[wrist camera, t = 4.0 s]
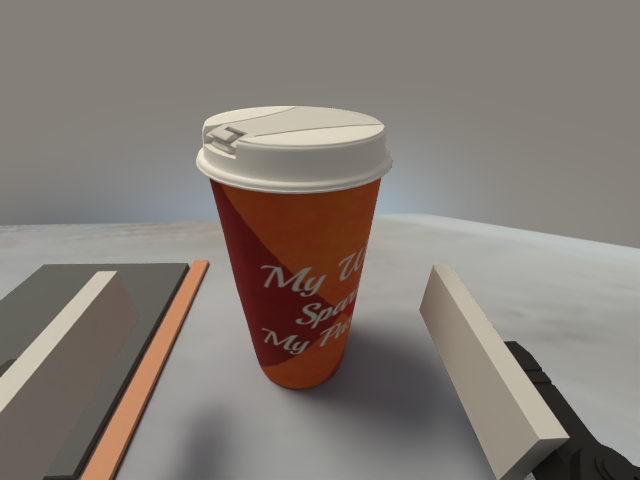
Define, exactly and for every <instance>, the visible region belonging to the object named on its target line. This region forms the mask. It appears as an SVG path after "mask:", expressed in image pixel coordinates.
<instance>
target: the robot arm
mask: <svg viewBox="0 0 640 480" xmlns="http://www.w3.org/2000/svg"><path fill="white" fill-rule="evenodd" d="M420 313H421V315H422V317H423V319H424V321H425V324H426V326H427V328H428V330H429V332H430V335H431V337H432V339H433V341H434V343H435V346H436V348H437V350H438V352H439V354H440V357H441V359H442V361H443V363H444V365H445V367H446V370H447V372H448V374H449V376H450V378H451V381H452V383H453V385H454V387H455V389H456V392H457V394H458V396H459V398H460V400H461V403H462V405H463V407H464V409H465V411H466V414H467V416H468V418H469V420H470V422H471V424H472V427H473V429H474V431H475V433H476V435H477V438H478V440H479V442H480V444H481V446H482V449H483V451H484V453H485V455H486V457H487V460H488V462H489V464H490V466H491V468H492V471H493V473H494V475H495V477H496V479H497V480H523V479H524V478H525V477H526V476H527V475H528V474H530V473H531V472H532V474H533V475H534V477H535V479H536V480H640V467H637V466H634V465H632V464H631V463H630V462H629V461H628V460H627V459H626V458H625V457H624V456H622V455H621V454H619V453H618V452H616V451H615V450H613V449H612V448H609V447H607V446H604V445H602V444H600V443H599V442H598V441H597V440H596V439H595V438H594V436H593V435H592V434H591V433H590V432H589V430H588V429H587V428H586V426H585V425H584V424H583V422H582V421H581V420H580V418H579V417H578V416H577V415H576V413H575V412H574V411H573V409H572V408H571V407H570V405H569V404H568V403H567V401H566V400H565V399H564V397H563V396H562V395H561V393H560V392H559V391H558V389H557V388H556V387H555V385H552V383H551V382H552V381H551V380H550V379H549V377H548V376H547V375H546V374H545V372H543V371H542V368H541V367H540V366H539V364H538V363H537V362H536V360H535V359H534V358H533V356H532V355H531V354H530V353H529V352H528V351H527V350H525V349H524V348H523V347H522V346H520V345H519V344H518V343H517V342H516V341H508V342H503V341H502V339H501V338H500V336H499V335H498V333H497V332H496V331H495V329H494V328H493V326H492V325H491V323H490V322H489V320H488V319H487V318H486V316H485V315H484V313H483V312H482V310H481V309H480V307H479V306H478V305H477V303H476V302H475V300H474V299H473V297H472V296H471V295H470V293H469V292H468V290H467V289H466V287H465V286H464V284H463V283H462V282H461V280H460V279H459V277H458V276H457V274H456V273H455V271H454V270H453V269H452V267H451V266H450V265H441V266H433V267H432V271H431V274H430V277H429V280H428V284H427V287H426V290H425V293H424V297H423V300H422V303H421V306H420ZM138 319H139V315H138V313H137V311H136V309H135V307H134V305H133V303H132V301H131V299H130V297H129V294H128V292H127V290H126V288H125V286H124V284H123V282H122V280H121V278H120V276H119V273H118V271H98V272H97V273H96V274H95V275H94V276H93V277H92V278H91V279H90V280H89V281H88V283H87V284H86V285H85V286H84V287H83V288H82V289H81V290H80V291H79V292H78V293H77V295H76V296H75V297H74V298H73V299H72V300H71V301H70V302H69V303H68V304H67V306H66V307H65V308H64V309H63V310H62V311H61V312H60V313H59V314H58V315H57V316H56V318H55V319H54V320H53V321H52V322H51V323H50V324H49V325H48V326H47V327H46V328H45V330H44V331H43V332H42V333H41V334H40V335H39V336H38V337H37V338H36V339H35V340H34V342H33V343H32V344H31V345H30V346H29V347H28V348H27V349H26V350H25V351H24V352H23V354H22V355H21V356H20V357H19V358H18V359H9V360H8V361H7V362H5V363H4V364H2V365H1V366H0V480H42V479H43V477H44V476H45V474H46V472H47V471H48V469H49V467H50V466H51V464H52V462H53V461H54V459H55V457H56V456H57V454H58V452H59V451H60V449H61V447H62V446H63V444H64V442H65V441H66V439H67V437H68V436H69V434H70V432H71V431H72V429H73V427H74V426H75V424H76V422H77V421H78V419H79V417H80V416H81V414H82V412H83V411H84V409H85V407H86V406H87V404H88V402H89V401H90V399H91V397H92V396H93V394H94V392H95V391H96V389H97V388H98V386H99V384H100V383H101V381H102V379H103V378H104V376H105V374H106V373H107V371H108V369H109V368H110V366H111V364H112V363H113V361H114V359H115V358H116V356H117V354H118V353H119V351H120V349H121V348H122V346H123V344H124V343H125V341H126V339H127V338H128V336H129V334H130V333H131V331H132V329H133V328H134V326H135V324H136V323H137V321H138Z"/></svg>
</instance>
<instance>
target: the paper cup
mask: <svg viewBox="0 0 640 480" xmlns="http://www.w3.org/2000/svg"><path fill="white" fill-rule="evenodd" d="M202 132H203V147H202V149H201V150H200V151H199V153H198V156H197V159H196V161H197V167H198V168H199V170H200V171H201V172H202V173H203V174H204V175H205V176H207V177H208V178H210V182H211V186H212V190H213V194H214V197H215V201H216V205H217V209H218V213H219V217H220V221H221V224H222V228H223V232H224V236H225V240H226V245H227V249H228V253H229V257H230V261H231V266H232V270H233V274H234V278H235V282H236V286H237V290H238V293H239V297H240V300H241V303H242V307H243V310H244V313H245V317H246V320H247V323H248V327H249V331H250V334H251V338H252V342H253V345H254V349H255V352H256V355H257V358H258V361H259V364H260V366H261V368H262V370H263V371H264V373H265V374H266V375H267V377H268V378H270V379H271V380H272V381H273V382H275V383H276V384H278V385H280V386H283V387H286V388H291V389H307V388H312V387H315V386H317V385H320V384H322V383H323V382H325V381H326V380H328V379H329V378H330V377H331V376H332V375H333V374H334V373H335V372H336V370H337V369H338V367H339V365H340V363H341V360H342V357H343V354H344V350H345V346H346V342H347V338H348V333H349V329H350V324H351V320H352V315H353V310H354V306H355V301H356V296H357V292H358V287H359V282H360V277H361V273H362V268H363V263H364V258H365V253H366V249H367V244H368V239H369V234H370V230H371V225H372V220H373V215H374V210H375V205H376V201H377V196H378V191H379V187H380V182H381V177H383V176H384V175H385V174H387V173H388V172H389V170H390V169H391V167H392V162H393V160H392V157H391V154H390V151H389V150H388V149H387V148H386V130H385V127H384V125H383V124H382V123H381V122H379V121H378V120H376V119H375V118H373V117H370V116H368V115H365V114H361V113H356V112H351V111H346V110H340V109H332V108H331V109H330V108H320V107H302V106H297V107H296V106H279V107H278V106H276V107H258V108H248V109H240V110H235V111H229V112H225V113H221V114H218V115H215V116H213V117H211V118H209V119H208V120H206V121H205V123H204V126H203V131H202Z"/></svg>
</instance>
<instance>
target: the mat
mask: <svg viewBox="0 0 640 480" xmlns="http://www.w3.org/2000/svg"><path fill="white" fill-rule="evenodd" d="M188 268H189V265H188V263H156V264H48V265H43V266H42V267H41V268H39V269H38V270H37V271H36V272H35V273H33V274H32V275H31V276H30V277H29V278H27V279H26V280H25V281H24V282H22V283H21V284H20V285H19V286H18V287H16V288H15V289H14V290H13V291H12V292H10V293H9V294H8V295H7V296H6V297H4V298H3V299H2V300H1V301H0V366H1V365H2V364H4V363H5V362H7V361H8V360H9V359H18V358H19V357H20V356H21V355H22V354H23V352H24V351H25V350H26V349H27V348H28V347H29V346H30V345H31V344H32V343H33V342H34V340H35V339H36V338H37V337H38V336H39V335H40V334H41V333H42V332H43V331H44V330H45V328H46V327H47V326H48V325H49V324H50V323H51V322H52V321H53V320H54V319H55V318H56V316H57V315H58V314H59V313H60V312H61V311H62V310H63V309H64V308H65V307H66V306H67V304H68V303H69V302H70V301H71V300H72V299H73V298H74V297H75V296H76V295H77V293H78V292H79V291H80V290H81V289H82V288H83V287H84V286H85V285H86V284H87V283H88V281H89V280H90V279H91V278H92V277H93V276H94V275H95V274H96V273H97V272H98V271H118V273H119V276H120V278H121V280H122V282H123V284H124V286H125V288H126V290H127V292H128V294H129V297H130V299H131V301H132V303H133V305H134V307H135V309H136V311H137V313H138V315H139V319H138V321H137V323H136V324H135V326H134V328H133V329H132V331H131V333H130V334H129V336H128V338H127V339H126V341H125V343H124V344H123V346H122V348H121V349H120V351H119V353H118V354H117V356H116V358H115V359H114V361H113V363H112V364H111V366H110V368H109V369H108V371H107V373H106V374H105V376H104V378H103V379H102V381H101V383H100V384H99V386H98V388H97V389H96V391H95V392H94V394H93V396H92V397H91V399H90V401H89V402H88V404H87V406H86V407H85V409H84V411H83V412H82V414H81V416H80V417H79V419H78V421H77V422H76V424H75V426H74V427H73V429H72V431H71V432H70V434H69V436H68V437H67V439H66V441H65V442H64V444H63V446H62V447H61V449H60V451H59V452H58V454H57V456H56V457H55V459H54V461H53V462H52V464H51V466H50V467H49V469H48V471H47V472H46V474H45V476H44V477H43V479H42V480H51V479H73V478H77V476H78V475H79V473H80V471H81V469H82V467H83V465H84V463H85V461H86V460H87V458H88V456H89V454H90V452H91V450H92V448H93V446H94V444H95V443H96V441H97V439H98V437H99V435H100V433H101V431H102V429H103V428H104V426H105V424H106V422H107V420H108V418H109V416H110V414H111V412H112V411H113V409H114V407H115V405H116V403H117V401H118V399H119V397H120V396H121V394H122V392H123V390H124V388H125V386H126V384H127V382H128V380H129V379H130V377H131V375H132V373H133V371H134V369H135V367H136V365H137V364H138V362H139V360H140V358H141V356H142V354H143V352H144V350H145V348H146V347H147V345H148V343H149V341H150V339H151V337H152V335H153V333H154V332H155V330H156V328H157V326H158V324H159V322H160V320H161V318H162V316H163V315H164V313H165V311H166V309H167V307H168V305H169V303H170V301H171V300H172V298H173V296H174V294H175V292H176V290H177V288H178V286H179V284H180V283H181V281H182V279H183V277H184V275H185V273H186V271H187V269H188Z"/></svg>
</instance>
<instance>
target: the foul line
mask: <svg viewBox="0 0 640 480" xmlns="http://www.w3.org/2000/svg"><path fill="white" fill-rule="evenodd" d="M208 264H209V261H208V260H202V261H194V263H193V265H192V267H191V268H190V270H189V272H188V274H187V276H186V278H185V280H184V282H183V284H182V286H181V288H180V290H179V292H178V293H177V295H176V297H175V299H174V301H173V303H172V305H171V307H170V309H169V311H168V313H167V315H166V317H165V318H164V320H163V322H162V324H161V326H160V328H159V330H158V332H157V334H156V336H155V338H154V340H153V342H152V343H151V345H150V347H149V349H148V351H147V353H146V355H145V357H144V359H143V361H142V363H141V365H140V367H139V368H138V370H137V372H136V374H135V376H134V378H133V380H132V382H131V384H130V386H129V388H128V390H127V392H126V393H125V395H124V397H123V399H122V401H121V403H120V405H119V407H118V409H117V411H116V413H115V415H114V417H113V418H112V420H111V422H110V424H109V426H108V428H107V430H106V432H105V434H104V436H103V438H102V440H101V442H100V443H99V445H98V447H97V449H96V451H95V453H94V455H93V457H92V459H91V461H90V463H89V465H88V467H87V468H86V470H85V472H84V474H83V476H82V478H81V480H112V479H113V477H114V474H115V472H116V470H117V468H118V466H119V463H120V461H121V459H122V457H123V454H124V452H125V450H126V448H127V445H128V443H129V441H130V439H131V436H132V434H133V432H134V430H135V427H136V425H137V423H138V421H139V419H140V416H141V414H142V412H143V410H144V407H145V405H146V403H147V401H148V398H149V396H150V394H151V392H152V389H153V387H154V385H155V383H156V380H157V378H158V376H159V374H160V372H161V369H162V367H163V365H164V363H165V360H166V358H167V356H168V354H169V351H170V349H171V347H172V345H173V342H174V340H175V338H176V336H177V333H178V331H179V329H180V327H181V325H182V322H183V320H184V318H185V316H186V313H187V311H188V309H189V307H190V304H191V302H192V300H193V298H194V295H195V293H196V291H197V289H198V286H199V284H200V282H201V280H202V277H203V275H204V273H205V271H206V269H207V266H208Z"/></svg>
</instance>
